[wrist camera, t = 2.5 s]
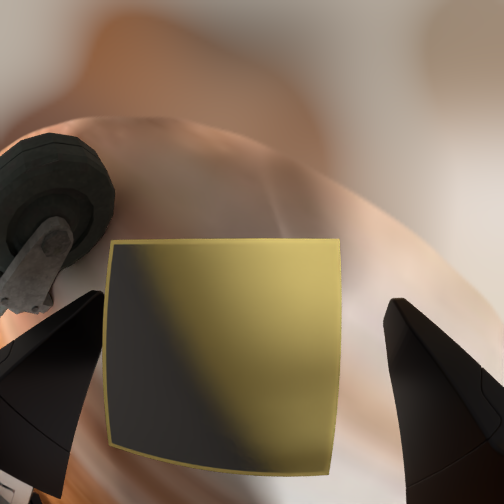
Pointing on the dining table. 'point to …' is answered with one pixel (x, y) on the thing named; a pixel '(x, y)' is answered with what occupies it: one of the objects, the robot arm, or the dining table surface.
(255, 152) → the dining table surface
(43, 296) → the caster wheel
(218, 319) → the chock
